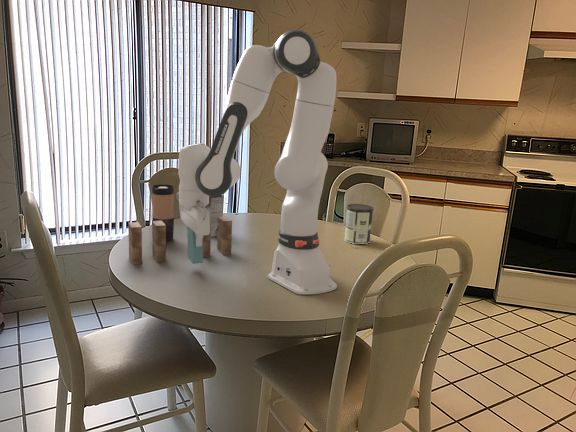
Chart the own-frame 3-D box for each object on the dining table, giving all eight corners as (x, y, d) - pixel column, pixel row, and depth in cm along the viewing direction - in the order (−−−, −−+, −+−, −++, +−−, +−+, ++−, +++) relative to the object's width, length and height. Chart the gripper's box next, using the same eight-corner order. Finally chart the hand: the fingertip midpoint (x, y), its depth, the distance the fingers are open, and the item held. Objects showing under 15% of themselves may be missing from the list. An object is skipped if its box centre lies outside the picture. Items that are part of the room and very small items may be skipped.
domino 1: (161, 255, 160) (161, 220, 157) (165, 260, 155) (165, 225, 152) (152, 255, 158) (152, 221, 156) (156, 261, 153) (156, 225, 150)
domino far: (138, 257, 156) (137, 221, 153) (142, 263, 151) (141, 226, 148) (129, 258, 155) (128, 222, 152) (132, 264, 150) (131, 227, 147)
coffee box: (197, 231, 189) (197, 191, 185) (211, 229, 193) (211, 190, 189) (209, 237, 182) (209, 196, 178) (223, 235, 186) (224, 195, 182)
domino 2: (197, 256, 150) (196, 220, 148) (202, 262, 145) (202, 224, 142) (188, 258, 149) (187, 220, 146) (193, 263, 144) (192, 225, 141)
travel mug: (173, 236, 181) (173, 184, 176) (174, 242, 174) (174, 188, 169) (152, 236, 179) (152, 184, 174) (152, 242, 172) (151, 188, 167)
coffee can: (356, 236, 196) (359, 202, 193) (375, 243, 188) (379, 208, 185) (338, 239, 190) (341, 205, 187) (356, 246, 182) (360, 210, 179)
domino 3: (204, 250, 167) (205, 217, 164) (210, 256, 161) (211, 222, 159) (196, 251, 165) (196, 218, 162) (201, 257, 160) (202, 222, 157)
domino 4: (225, 248, 170) (226, 216, 167) (231, 254, 165) (232, 220, 162) (217, 249, 169) (217, 216, 166) (222, 254, 164) (223, 221, 161)
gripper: (215, 204, 135) (215, 250, 138) (194, 191, 153) (195, 233, 156) (193, 205, 132) (194, 253, 135) (175, 192, 150) (176, 235, 153)
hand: (194, 242), depth 146 cm, fingers closed on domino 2, 6 cm apart
